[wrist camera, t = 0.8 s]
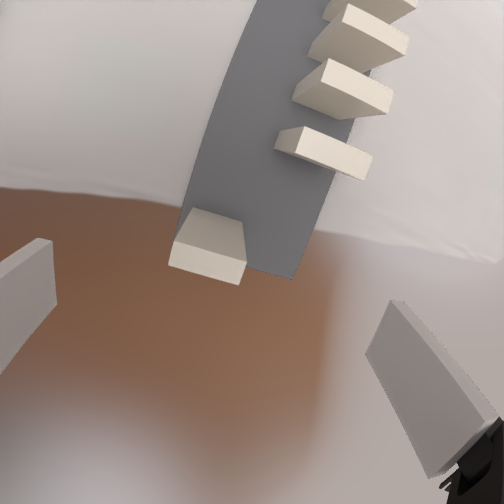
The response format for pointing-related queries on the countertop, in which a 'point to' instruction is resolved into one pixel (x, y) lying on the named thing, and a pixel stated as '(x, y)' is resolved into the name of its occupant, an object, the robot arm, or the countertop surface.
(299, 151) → the domino
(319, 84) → the domino
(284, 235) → the mat
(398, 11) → the domino
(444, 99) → the countertop surface
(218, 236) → the domino
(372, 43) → the domino
